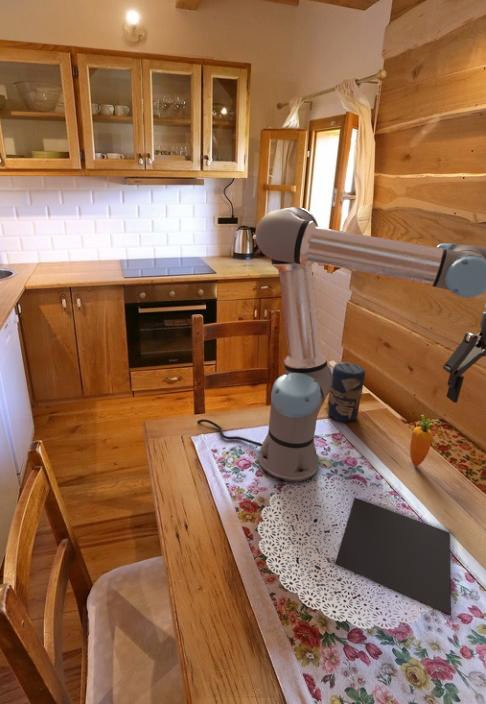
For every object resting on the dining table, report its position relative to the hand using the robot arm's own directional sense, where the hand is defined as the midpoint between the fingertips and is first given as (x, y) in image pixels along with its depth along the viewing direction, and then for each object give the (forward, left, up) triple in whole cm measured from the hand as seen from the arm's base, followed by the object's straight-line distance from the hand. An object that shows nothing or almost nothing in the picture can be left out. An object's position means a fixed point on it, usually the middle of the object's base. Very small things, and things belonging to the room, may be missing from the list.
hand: (478, 399), depth 95 cm
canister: (-32, +16, -24) cm, 43 cm away
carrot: (-9, +1, -24) cm, 26 cm away
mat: (-11, -29, -24) cm, 39 cm away
